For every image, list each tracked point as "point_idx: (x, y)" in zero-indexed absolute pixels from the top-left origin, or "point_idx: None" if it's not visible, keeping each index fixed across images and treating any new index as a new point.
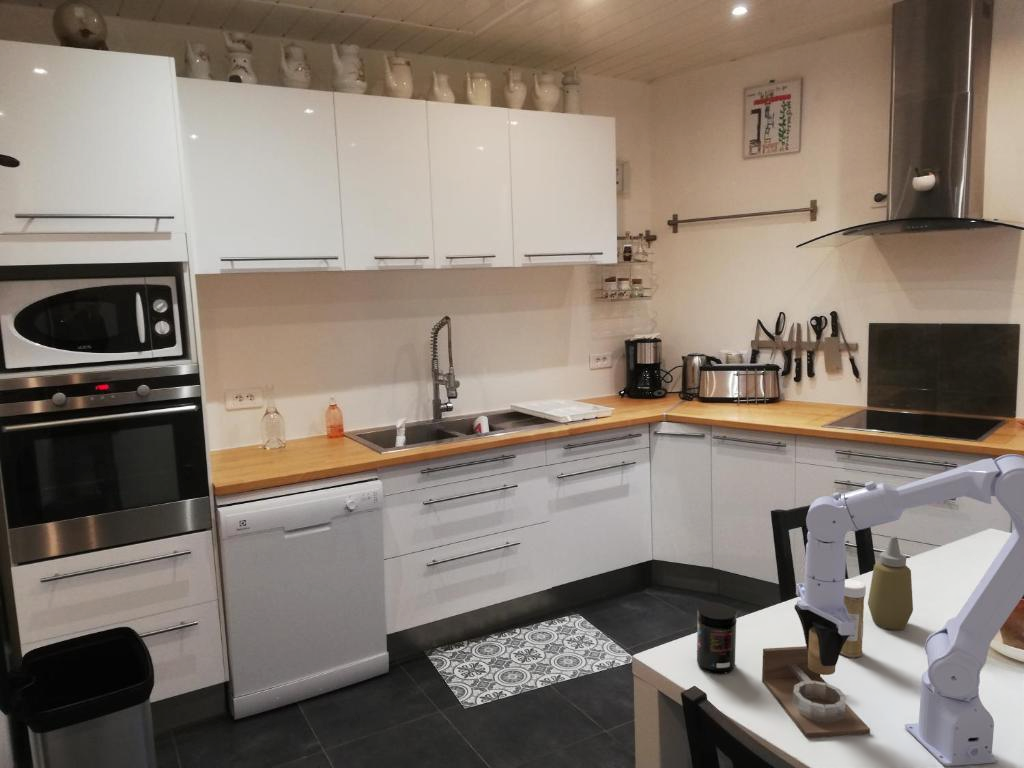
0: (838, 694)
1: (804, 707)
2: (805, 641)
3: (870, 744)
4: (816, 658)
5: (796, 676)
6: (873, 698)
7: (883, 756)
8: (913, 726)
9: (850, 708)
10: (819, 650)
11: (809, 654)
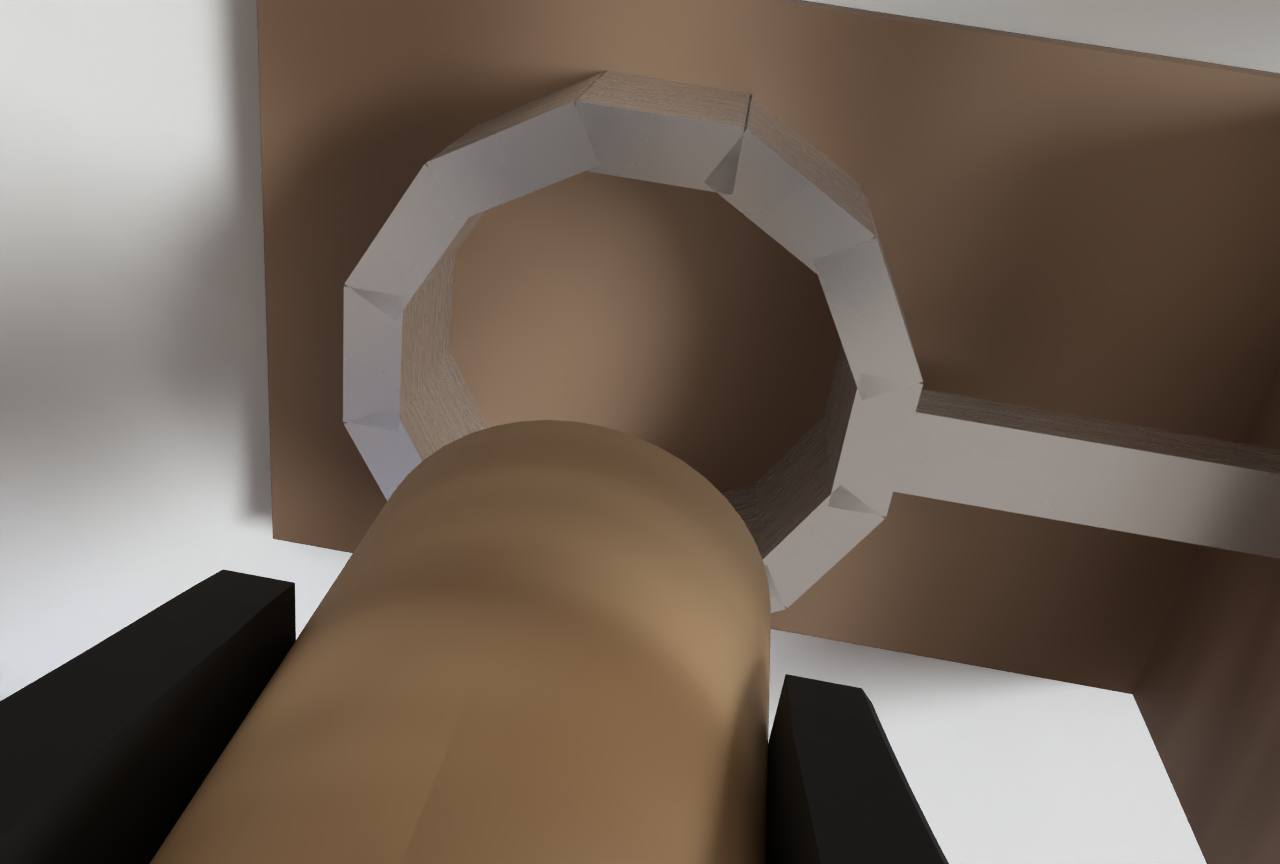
0: None
1: (522, 115)
2: (896, 785)
3: (162, 429)
4: (363, 593)
5: (1116, 425)
6: None
7: (14, 417)
8: None
9: None
10: (112, 736)
11: (550, 572)
